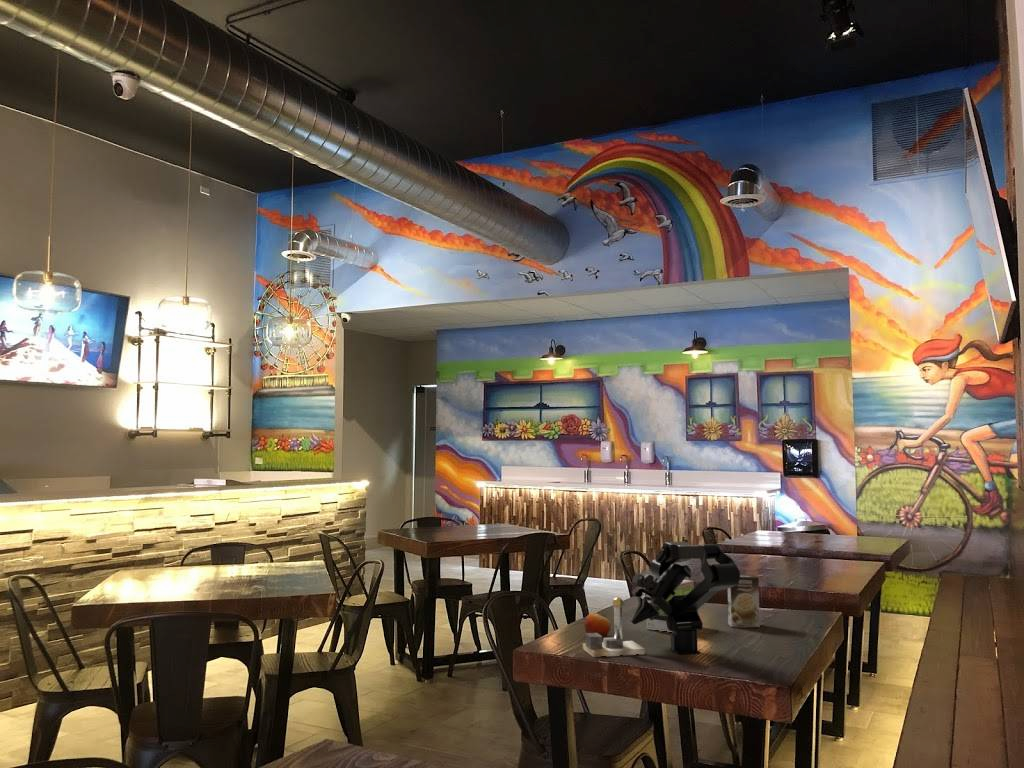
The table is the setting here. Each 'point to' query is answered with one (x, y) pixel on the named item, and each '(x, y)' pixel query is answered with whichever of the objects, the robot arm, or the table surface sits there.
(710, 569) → the robot arm
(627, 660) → the table surface
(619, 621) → the gold knob lever
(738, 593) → the coffee box
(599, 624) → the fruit
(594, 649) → the board
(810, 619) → the table surface
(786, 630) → the table surface
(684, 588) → the tea box
